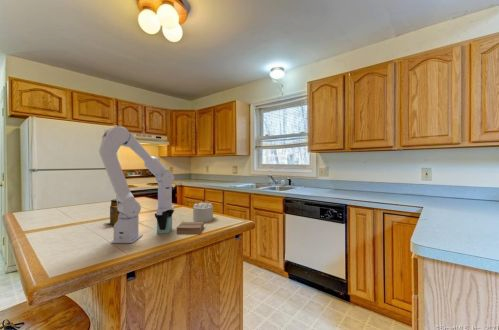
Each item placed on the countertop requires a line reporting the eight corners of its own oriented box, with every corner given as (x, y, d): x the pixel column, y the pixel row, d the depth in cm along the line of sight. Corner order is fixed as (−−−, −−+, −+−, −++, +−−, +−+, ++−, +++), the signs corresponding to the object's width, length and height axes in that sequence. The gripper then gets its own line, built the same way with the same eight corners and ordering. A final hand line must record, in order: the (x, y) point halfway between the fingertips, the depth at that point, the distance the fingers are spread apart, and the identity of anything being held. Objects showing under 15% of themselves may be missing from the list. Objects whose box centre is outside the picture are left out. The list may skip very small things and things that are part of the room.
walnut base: (199, 234, 102) (200, 227, 102) (176, 234, 102) (176, 227, 102) (203, 228, 112) (203, 221, 112) (182, 228, 112) (182, 221, 112)
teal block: (168, 233, 102) (168, 219, 102) (156, 233, 102) (156, 219, 102) (172, 229, 107) (172, 216, 107) (160, 229, 107) (161, 216, 107)
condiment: (126, 224, 116) (126, 199, 116) (107, 227, 111) (107, 201, 110) (122, 221, 122) (122, 198, 122) (103, 224, 116) (103, 199, 116)
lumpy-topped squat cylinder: (213, 216, 134) (213, 201, 134) (212, 222, 122) (212, 205, 121) (194, 217, 133) (194, 201, 133) (191, 223, 120) (192, 205, 120)
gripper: (168, 199, 98) (168, 232, 98) (178, 194, 112) (178, 223, 112) (151, 199, 97) (151, 232, 98) (163, 194, 112) (163, 223, 112)
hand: (164, 227), depth 105 cm, fingers closed on teal block, 5 cm apart
